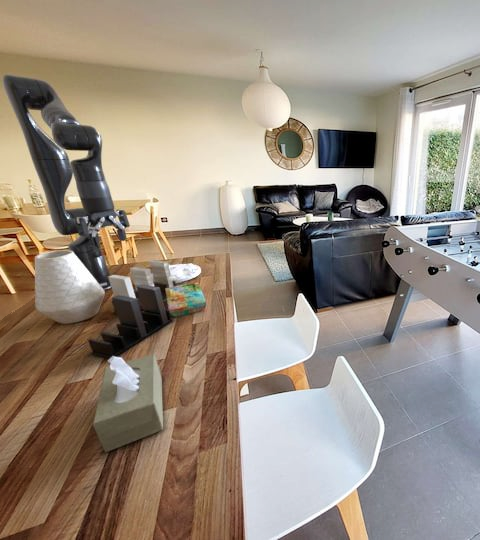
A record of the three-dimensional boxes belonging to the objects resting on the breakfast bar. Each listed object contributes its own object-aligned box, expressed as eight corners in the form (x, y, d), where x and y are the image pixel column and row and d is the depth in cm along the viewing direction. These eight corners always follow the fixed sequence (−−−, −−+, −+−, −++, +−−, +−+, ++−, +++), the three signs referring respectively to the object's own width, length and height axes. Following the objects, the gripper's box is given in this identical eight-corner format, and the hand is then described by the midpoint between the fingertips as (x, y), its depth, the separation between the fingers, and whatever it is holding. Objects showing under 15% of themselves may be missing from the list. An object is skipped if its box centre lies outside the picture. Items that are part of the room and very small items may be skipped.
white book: (134, 312, 103) (124, 279, 98) (118, 309, 104) (107, 276, 99) (139, 309, 105) (129, 277, 100) (124, 306, 106) (113, 274, 101)
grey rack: (112, 359, 82) (96, 318, 76) (91, 355, 83) (75, 313, 78) (173, 321, 100) (164, 285, 95) (155, 317, 102) (145, 282, 97)
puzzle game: (168, 308, 99) (164, 286, 114) (170, 319, 101) (167, 296, 116) (205, 299, 106) (197, 280, 121) (207, 310, 107) (199, 290, 122)
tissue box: (115, 391, 71) (94, 339, 65) (161, 376, 76) (147, 327, 70) (105, 454, 57) (78, 395, 51) (163, 431, 62) (145, 374, 56)
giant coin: (209, 274, 138) (208, 268, 137) (166, 289, 122) (165, 283, 121) (186, 265, 147) (185, 259, 146) (143, 277, 131) (141, 271, 130)
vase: (33, 320, 98) (3, 257, 89) (94, 299, 112) (74, 243, 103) (58, 335, 91) (28, 268, 82) (120, 310, 105) (101, 251, 96)
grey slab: (131, 316, 102) (119, 281, 96) (114, 313, 103) (102, 278, 98) (178, 291, 121) (171, 260, 115) (163, 288, 122) (156, 258, 117)
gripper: (109, 191, 97) (122, 237, 103) (59, 197, 84) (77, 249, 91) (127, 193, 96) (139, 239, 102) (79, 199, 83) (96, 252, 89)
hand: (110, 244), depth 96 cm, fingers open, 8 cm apart
